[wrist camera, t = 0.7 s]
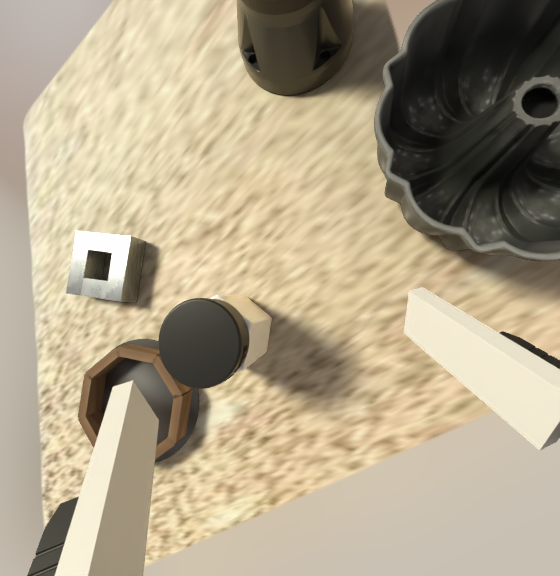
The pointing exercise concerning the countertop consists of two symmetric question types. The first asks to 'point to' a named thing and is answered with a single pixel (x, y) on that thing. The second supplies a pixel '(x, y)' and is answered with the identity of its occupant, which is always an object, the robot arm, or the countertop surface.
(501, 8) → the bundt pan
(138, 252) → the square socket
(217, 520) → the countertop surface
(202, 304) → the jar
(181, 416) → the brown octagonal tray
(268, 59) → the robot arm
